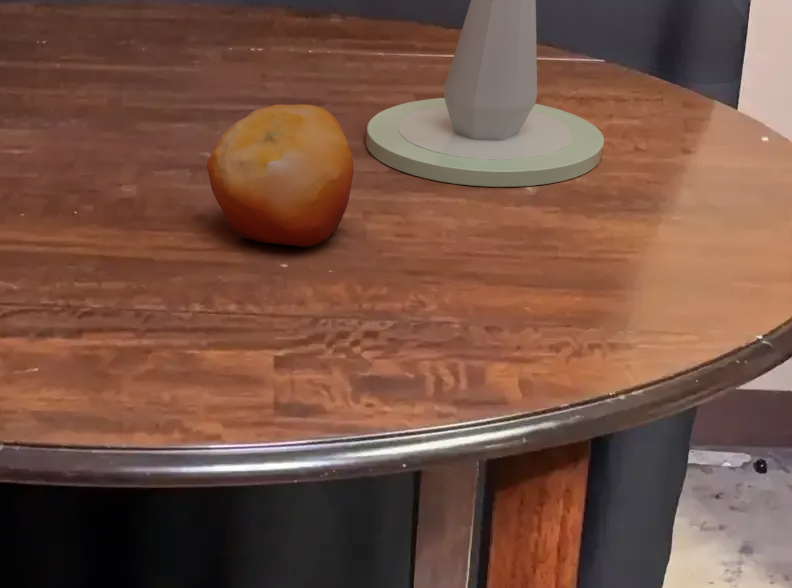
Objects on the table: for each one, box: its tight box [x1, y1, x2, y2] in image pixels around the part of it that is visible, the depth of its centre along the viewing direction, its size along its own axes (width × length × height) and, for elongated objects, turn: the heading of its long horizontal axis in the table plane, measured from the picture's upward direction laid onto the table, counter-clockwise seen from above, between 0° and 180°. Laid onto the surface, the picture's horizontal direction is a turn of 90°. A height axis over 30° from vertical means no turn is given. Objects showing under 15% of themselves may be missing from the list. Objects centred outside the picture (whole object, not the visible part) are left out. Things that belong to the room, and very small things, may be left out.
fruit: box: [206, 103, 355, 248], centre depth 85 cm, size 8×8×8 cm
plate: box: [365, 97, 605, 188], centre depth 98 cm, size 15×15×1 cm
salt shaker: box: [443, 0, 538, 140], centre depth 94 cm, size 6×6×13 cm
